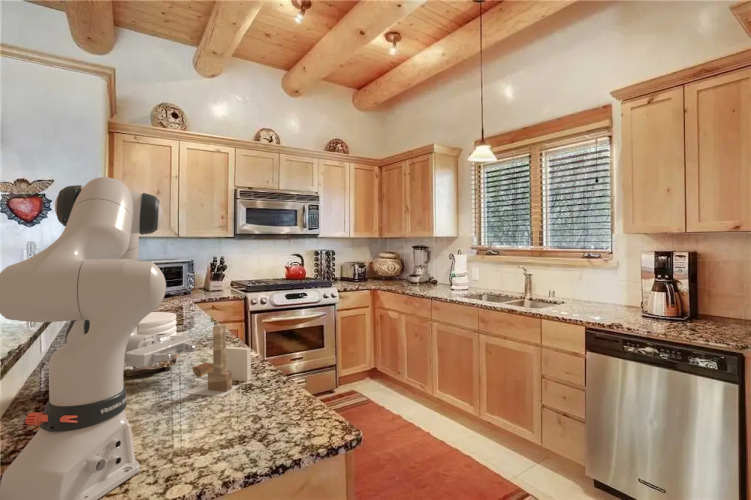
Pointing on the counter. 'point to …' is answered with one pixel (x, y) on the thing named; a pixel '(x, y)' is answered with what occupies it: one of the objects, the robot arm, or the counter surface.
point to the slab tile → (239, 363)
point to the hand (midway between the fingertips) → (183, 352)
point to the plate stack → (158, 324)
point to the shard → (203, 368)
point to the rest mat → (204, 390)
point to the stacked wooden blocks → (219, 362)
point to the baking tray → (149, 367)
